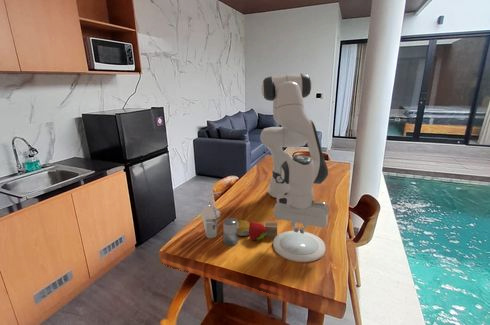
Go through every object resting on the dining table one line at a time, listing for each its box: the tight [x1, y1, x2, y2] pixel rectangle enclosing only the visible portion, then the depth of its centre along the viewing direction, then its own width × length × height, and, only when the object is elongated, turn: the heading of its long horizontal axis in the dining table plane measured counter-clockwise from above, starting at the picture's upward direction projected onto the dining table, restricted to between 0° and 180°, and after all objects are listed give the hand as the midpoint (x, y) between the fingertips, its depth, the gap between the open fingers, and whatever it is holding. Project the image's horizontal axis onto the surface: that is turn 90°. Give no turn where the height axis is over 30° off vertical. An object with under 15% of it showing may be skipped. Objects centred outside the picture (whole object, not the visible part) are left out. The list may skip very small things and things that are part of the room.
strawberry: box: [248, 221, 267, 242], centre depth 108 cm, size 6×8×10 cm
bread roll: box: [238, 220, 250, 237], centre depth 114 cm, size 8×9×4 cm
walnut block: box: [264, 220, 278, 239], centre depth 111 cm, size 5×5×5 cm
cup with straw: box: [199, 190, 223, 239], centre depth 109 cm, size 8×9×20 cm
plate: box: [272, 230, 326, 263], centre depth 103 cm, size 20×20×1 cm
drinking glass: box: [222, 217, 239, 247], centre depth 106 cm, size 6×6×9 cm
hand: (299, 232), depth 101 cm, fingers closed
